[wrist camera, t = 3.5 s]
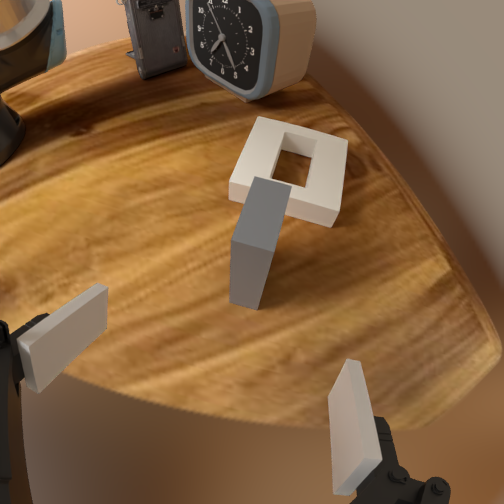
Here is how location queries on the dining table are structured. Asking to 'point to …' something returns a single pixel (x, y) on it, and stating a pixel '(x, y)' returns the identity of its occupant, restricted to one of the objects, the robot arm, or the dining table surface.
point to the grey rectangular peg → (256, 240)
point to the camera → (155, 35)
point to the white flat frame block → (319, 176)
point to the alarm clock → (251, 43)
